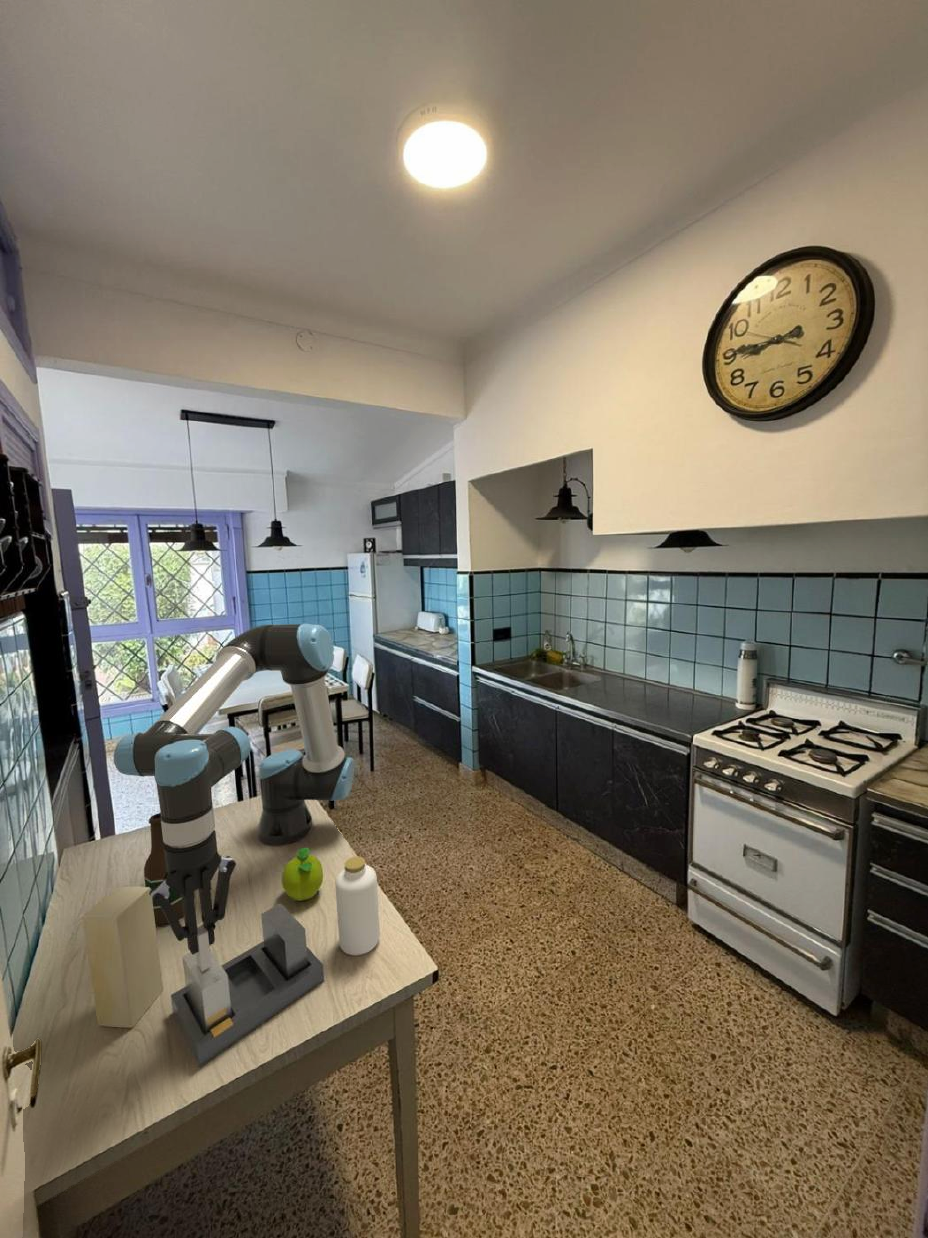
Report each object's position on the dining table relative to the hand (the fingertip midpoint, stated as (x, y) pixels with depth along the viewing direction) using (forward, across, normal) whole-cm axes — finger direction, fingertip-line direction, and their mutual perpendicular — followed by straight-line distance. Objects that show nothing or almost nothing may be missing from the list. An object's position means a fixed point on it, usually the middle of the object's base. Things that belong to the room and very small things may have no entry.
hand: (204, 964), depth 85 cm
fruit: (+12, -27, -18) cm, 34 cm away
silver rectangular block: (+10, 0, 0) cm, 10 cm away
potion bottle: (+12, -28, +4) cm, 31 cm away
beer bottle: (+12, -3, -35) cm, 37 cm away
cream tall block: (+12, +9, -14) cm, 20 cm away
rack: (+11, -7, 0) cm, 13 cm away
